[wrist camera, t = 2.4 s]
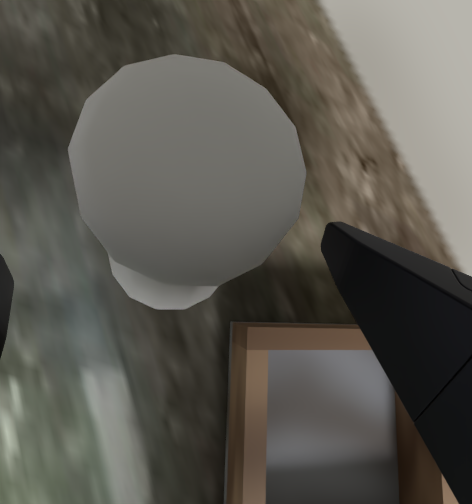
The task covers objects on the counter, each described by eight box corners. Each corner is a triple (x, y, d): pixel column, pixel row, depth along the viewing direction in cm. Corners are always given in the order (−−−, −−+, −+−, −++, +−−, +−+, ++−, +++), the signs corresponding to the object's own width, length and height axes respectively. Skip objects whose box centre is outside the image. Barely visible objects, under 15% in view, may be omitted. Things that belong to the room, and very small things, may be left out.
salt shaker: (93, 278, 16) (-118, 211, 4) (147, 186, 18) (118, -84, 5) (194, 326, 17) (288, 398, 5) (238, 235, 19) (403, 103, 6)
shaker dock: (407, 518, 18) (464, 568, 15) (222, 544, 16) (239, 611, 13) (399, 325, 20) (448, 330, 17) (230, 321, 18) (247, 327, 14)
